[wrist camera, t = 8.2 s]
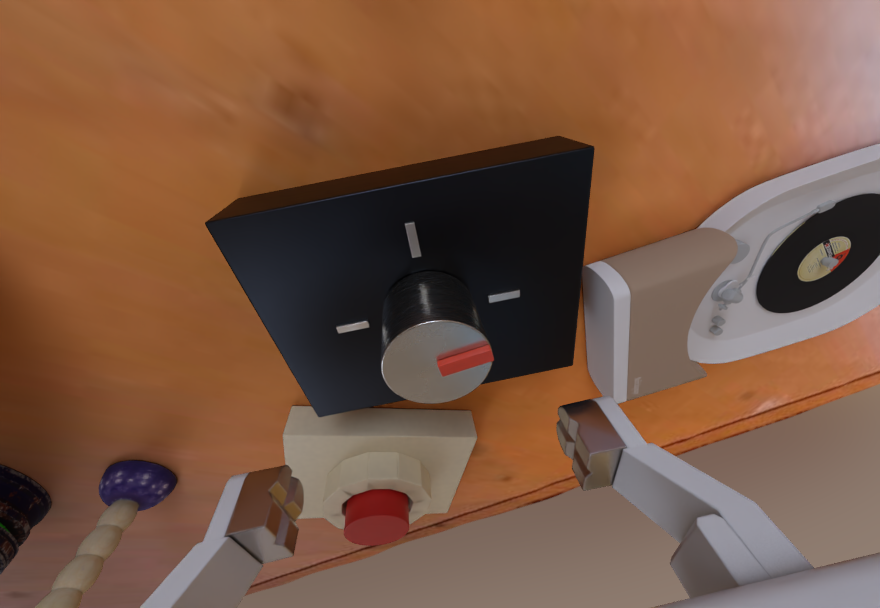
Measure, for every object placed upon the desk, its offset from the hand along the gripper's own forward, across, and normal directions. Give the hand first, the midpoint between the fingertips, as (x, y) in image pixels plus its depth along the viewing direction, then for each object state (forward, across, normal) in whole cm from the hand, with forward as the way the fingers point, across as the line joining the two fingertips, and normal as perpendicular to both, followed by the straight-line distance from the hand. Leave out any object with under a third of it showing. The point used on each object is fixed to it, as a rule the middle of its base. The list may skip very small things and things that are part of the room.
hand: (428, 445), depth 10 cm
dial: (+6, -1, -1) cm, 6 cm away
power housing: (+9, +5, +13) cm, 17 cm away
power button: (+6, +5, +13) cm, 15 cm away
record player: (+9, -20, +3) cm, 22 cm away
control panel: (+9, -1, -1) cm, 9 cm away
